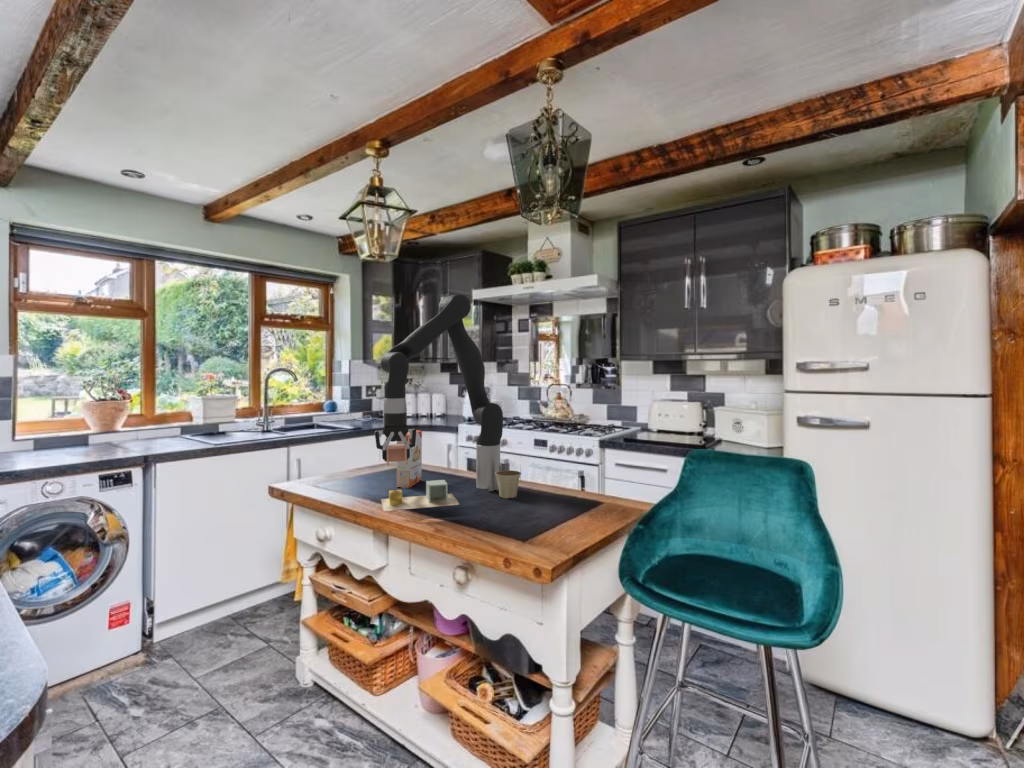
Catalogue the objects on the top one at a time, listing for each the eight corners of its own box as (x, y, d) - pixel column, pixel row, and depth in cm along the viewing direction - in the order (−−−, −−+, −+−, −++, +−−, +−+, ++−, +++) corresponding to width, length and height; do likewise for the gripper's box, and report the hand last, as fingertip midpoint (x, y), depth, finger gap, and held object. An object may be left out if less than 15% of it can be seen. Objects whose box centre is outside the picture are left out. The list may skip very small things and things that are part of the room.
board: (451, 496, 188) (451, 493, 188) (460, 507, 173) (460, 504, 173) (380, 501, 180) (380, 499, 180) (383, 514, 166) (383, 511, 166)
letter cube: (401, 501, 178) (400, 489, 177) (402, 504, 174) (402, 492, 174) (389, 502, 176) (388, 490, 176) (390, 505, 172) (389, 492, 172)
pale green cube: (444, 496, 183) (444, 479, 183) (447, 501, 177) (447, 483, 177) (426, 497, 181) (426, 481, 181) (428, 502, 175) (428, 485, 175)
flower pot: (522, 493, 192) (522, 470, 191) (520, 500, 182) (520, 476, 182) (497, 492, 192) (497, 469, 192) (493, 499, 183) (493, 475, 183)
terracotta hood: (404, 460, 180) (404, 443, 179) (406, 464, 173) (406, 446, 173) (385, 462, 178) (385, 444, 177) (387, 465, 172) (386, 447, 171)
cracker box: (410, 489, 198) (410, 434, 197) (395, 488, 199) (395, 434, 198) (422, 480, 212) (422, 429, 211) (408, 480, 213) (408, 429, 212)
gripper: (415, 409, 180) (415, 457, 181) (372, 411, 176) (373, 459, 177) (418, 411, 173) (418, 461, 174) (373, 413, 169) (374, 463, 170)
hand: (396, 460), depth 175 cm, fingers closed on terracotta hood, 6 cm apart
